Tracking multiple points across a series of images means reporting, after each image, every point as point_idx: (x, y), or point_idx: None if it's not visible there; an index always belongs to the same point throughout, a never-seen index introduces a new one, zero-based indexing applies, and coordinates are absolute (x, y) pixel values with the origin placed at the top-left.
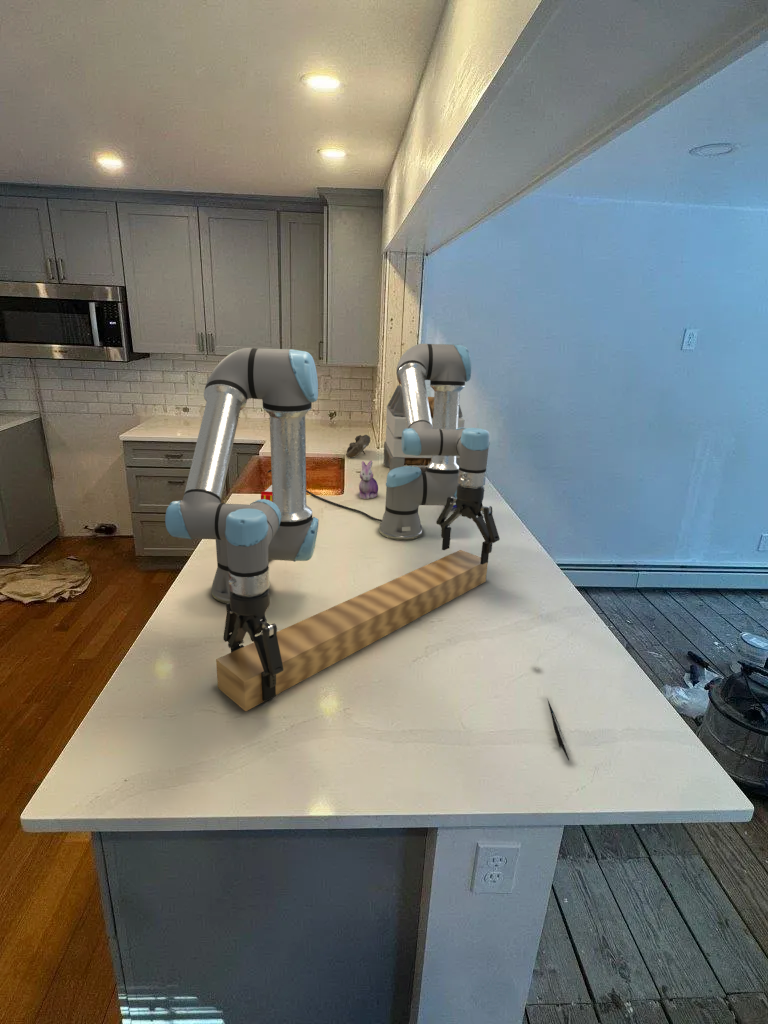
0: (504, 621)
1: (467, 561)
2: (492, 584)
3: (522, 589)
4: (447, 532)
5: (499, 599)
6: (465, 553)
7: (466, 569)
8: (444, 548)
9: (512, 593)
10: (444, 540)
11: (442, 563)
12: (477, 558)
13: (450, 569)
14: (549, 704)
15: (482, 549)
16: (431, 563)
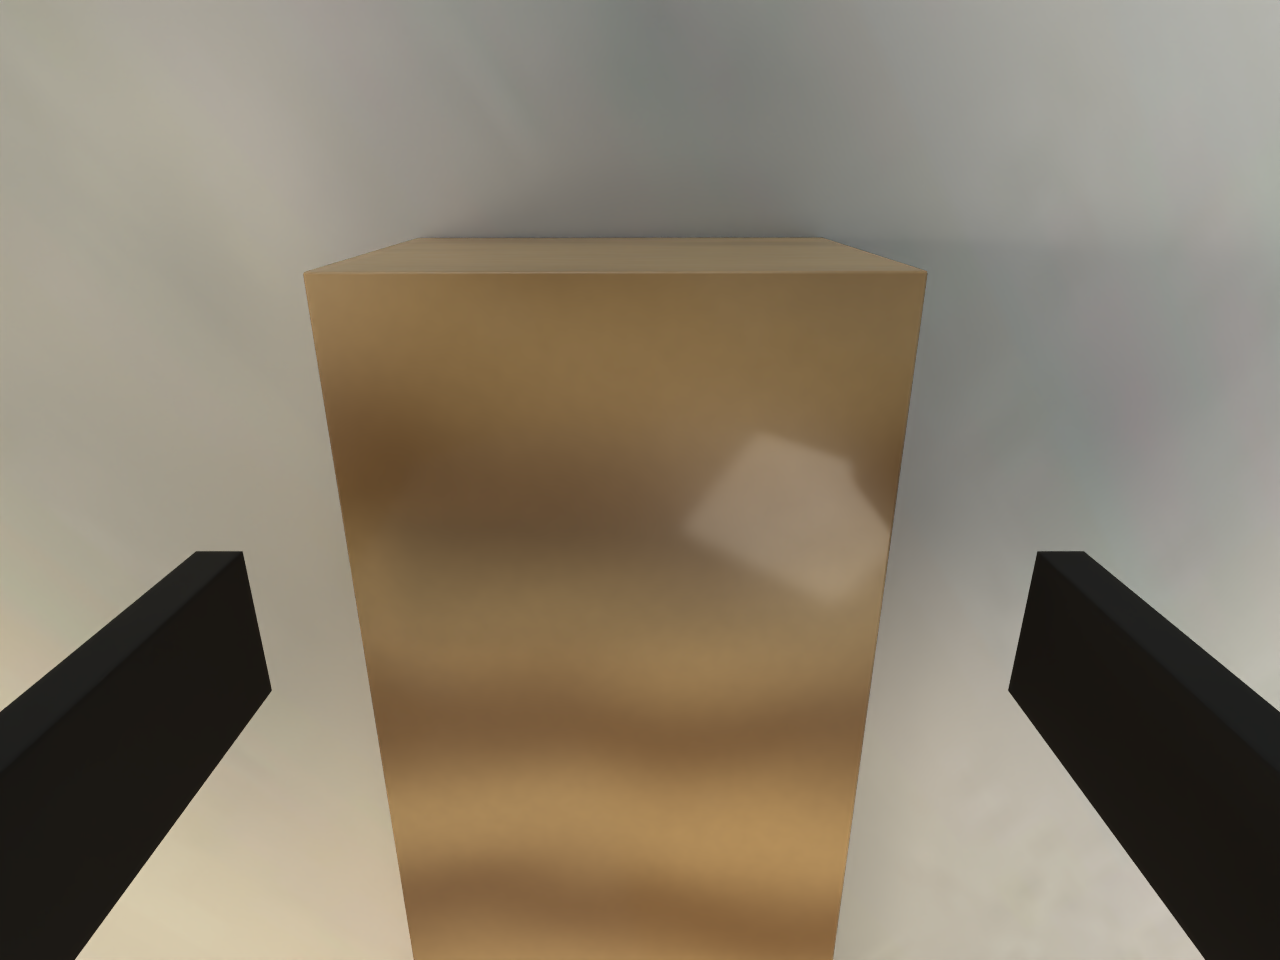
0: None
1: (701, 573)
2: (918, 235)
3: (1277, 56)
4: (15, 923)
5: (1117, 474)
6: (479, 343)
7: (836, 768)
8: (255, 699)
9: (1195, 255)
10: (162, 830)
11: (508, 840)
12: (753, 361)
13: (687, 886)
14: None
15: (1189, 912)
16: (422, 919)
